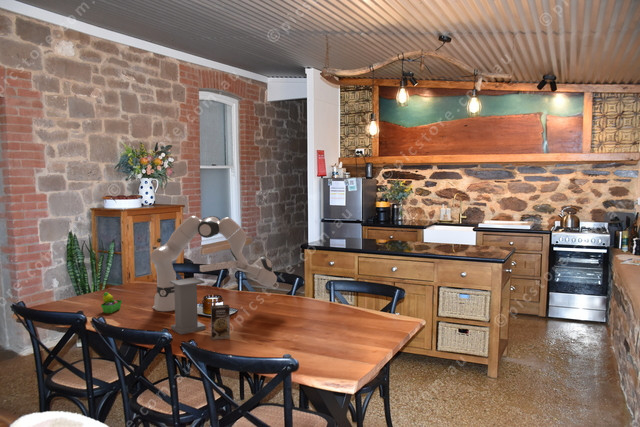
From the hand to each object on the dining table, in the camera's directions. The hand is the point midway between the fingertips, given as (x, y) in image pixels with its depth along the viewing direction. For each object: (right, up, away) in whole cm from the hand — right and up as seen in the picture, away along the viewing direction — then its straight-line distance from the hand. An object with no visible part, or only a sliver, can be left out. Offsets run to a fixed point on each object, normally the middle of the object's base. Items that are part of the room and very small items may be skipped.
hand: (235, 262), depth 281 cm
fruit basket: (-78, -31, +19) cm, 86 cm away
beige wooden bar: (-7, -2, -5) cm, 9 cm away
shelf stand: (-22, -34, -15) cm, 43 cm away
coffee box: (-2, -35, -28) cm, 45 cm away
